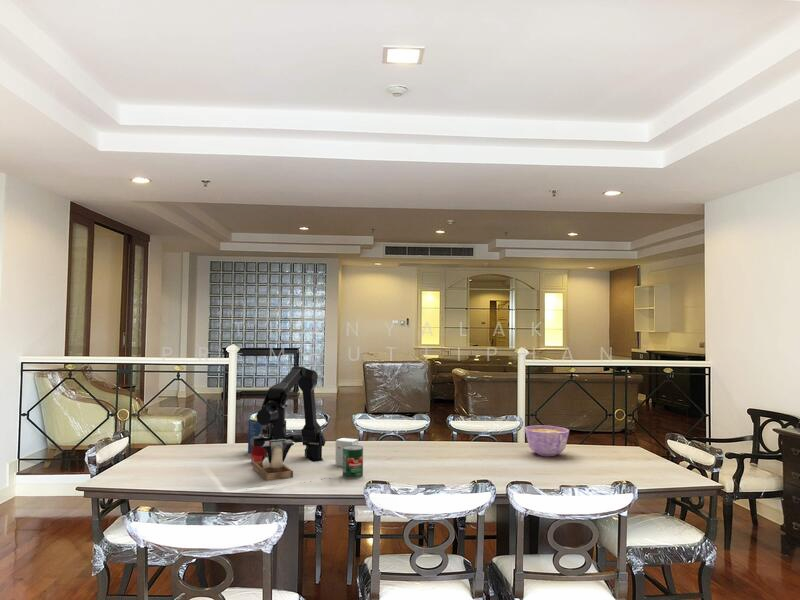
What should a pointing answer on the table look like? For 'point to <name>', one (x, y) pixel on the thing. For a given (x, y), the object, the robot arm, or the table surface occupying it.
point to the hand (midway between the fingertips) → (276, 462)
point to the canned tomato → (352, 461)
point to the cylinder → (276, 457)
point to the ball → (266, 463)
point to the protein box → (259, 433)
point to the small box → (339, 448)
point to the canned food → (258, 453)
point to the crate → (272, 471)
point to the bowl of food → (546, 439)
